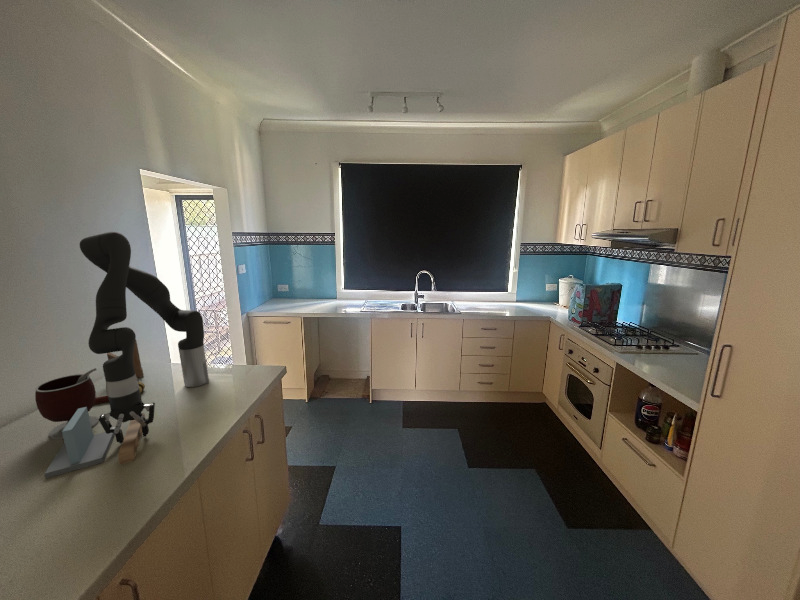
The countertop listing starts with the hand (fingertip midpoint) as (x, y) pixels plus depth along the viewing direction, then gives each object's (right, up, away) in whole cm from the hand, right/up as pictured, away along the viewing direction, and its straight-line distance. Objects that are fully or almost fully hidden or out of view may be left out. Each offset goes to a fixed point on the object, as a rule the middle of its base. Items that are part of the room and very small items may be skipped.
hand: (133, 438), depth 104 cm
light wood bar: (0, -1, 0) cm, 1 cm away
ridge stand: (-10, -2, -6) cm, 12 cm away
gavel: (-30, +4, +25) cm, 40 cm away
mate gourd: (-26, 0, +8) cm, 27 cm away
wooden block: (-39, +8, +45) cm, 60 cm away
